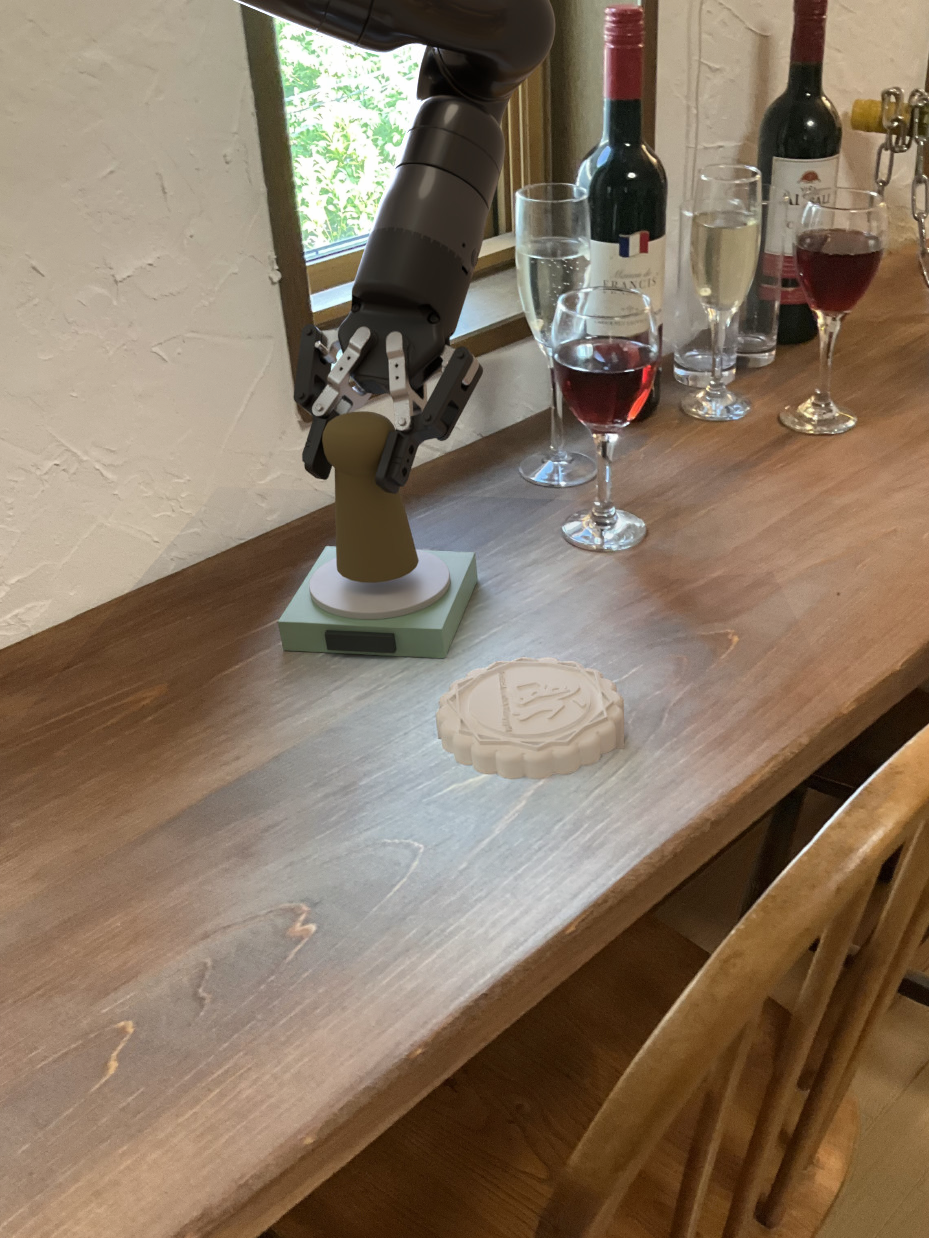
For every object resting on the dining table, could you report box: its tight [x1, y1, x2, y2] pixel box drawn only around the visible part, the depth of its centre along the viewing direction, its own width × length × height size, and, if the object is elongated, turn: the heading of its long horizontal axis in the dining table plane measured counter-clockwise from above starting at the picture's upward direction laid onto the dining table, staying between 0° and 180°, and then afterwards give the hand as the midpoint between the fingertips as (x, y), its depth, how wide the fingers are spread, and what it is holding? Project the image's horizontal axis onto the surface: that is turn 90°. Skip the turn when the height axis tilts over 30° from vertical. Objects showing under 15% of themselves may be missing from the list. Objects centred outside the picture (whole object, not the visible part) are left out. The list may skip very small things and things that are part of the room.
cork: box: [322, 410, 419, 583], centre depth 91 cm, size 6×6×11 cm
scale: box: [277, 545, 479, 659], centre depth 95 cm, size 12×12×3 cm
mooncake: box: [435, 656, 625, 780], centre depth 82 cm, size 12×12×4 cm
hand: (350, 481), depth 88 cm, fingers closed on cork, 5 cm apart
